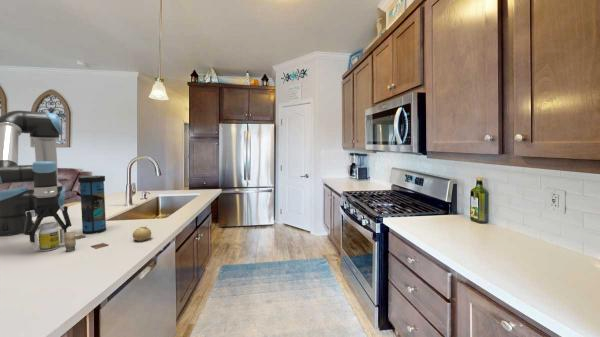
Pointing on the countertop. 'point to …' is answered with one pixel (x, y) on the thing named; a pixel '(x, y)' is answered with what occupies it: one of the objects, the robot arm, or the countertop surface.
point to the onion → (141, 234)
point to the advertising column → (92, 204)
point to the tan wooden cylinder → (69, 241)
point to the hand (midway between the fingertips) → (49, 245)
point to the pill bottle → (48, 237)
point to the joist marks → (93, 245)
